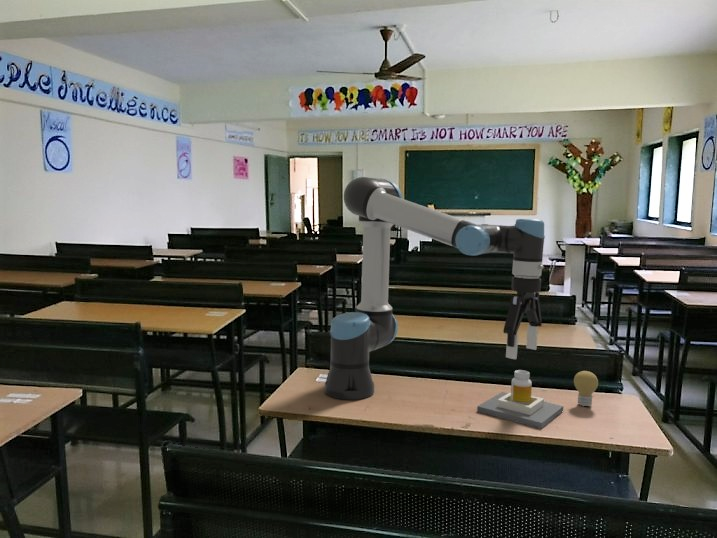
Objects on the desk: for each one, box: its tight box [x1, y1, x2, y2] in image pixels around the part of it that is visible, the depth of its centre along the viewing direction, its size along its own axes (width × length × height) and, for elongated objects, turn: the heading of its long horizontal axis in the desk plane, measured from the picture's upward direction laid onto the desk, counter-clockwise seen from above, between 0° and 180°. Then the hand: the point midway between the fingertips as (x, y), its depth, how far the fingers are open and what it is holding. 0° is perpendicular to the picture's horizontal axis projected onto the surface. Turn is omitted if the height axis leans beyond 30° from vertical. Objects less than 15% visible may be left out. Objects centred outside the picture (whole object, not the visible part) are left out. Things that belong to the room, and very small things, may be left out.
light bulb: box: [573, 370, 599, 407], centre depth 154 cm, size 6×6×10 cm
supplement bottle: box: [510, 369, 533, 405], centre depth 148 cm, size 5×5×10 cm
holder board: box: [476, 391, 564, 430], centre depth 148 cm, size 18×16×4 cm
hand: (521, 353), depth 147 cm, fingers open, 13 cm apart
